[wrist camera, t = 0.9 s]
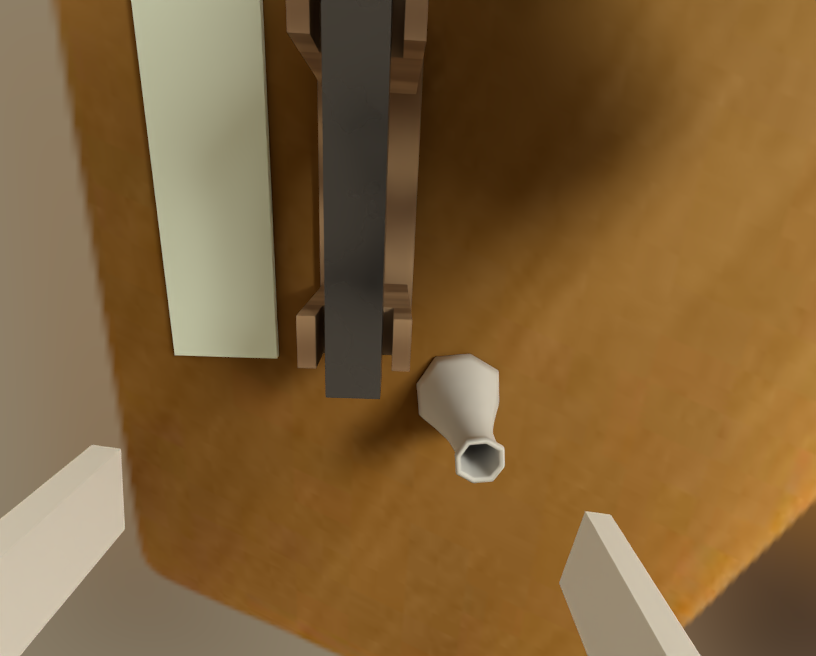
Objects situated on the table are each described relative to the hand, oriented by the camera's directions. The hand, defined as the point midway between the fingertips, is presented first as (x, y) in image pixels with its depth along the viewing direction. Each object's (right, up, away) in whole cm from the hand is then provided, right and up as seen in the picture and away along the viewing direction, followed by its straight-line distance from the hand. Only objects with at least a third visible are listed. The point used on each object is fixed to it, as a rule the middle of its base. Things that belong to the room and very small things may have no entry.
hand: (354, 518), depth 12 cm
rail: (-1, +13, +11) cm, 17 cm away
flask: (+6, 0, +24) cm, 24 cm away
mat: (-12, +16, +18) cm, 27 cm away
